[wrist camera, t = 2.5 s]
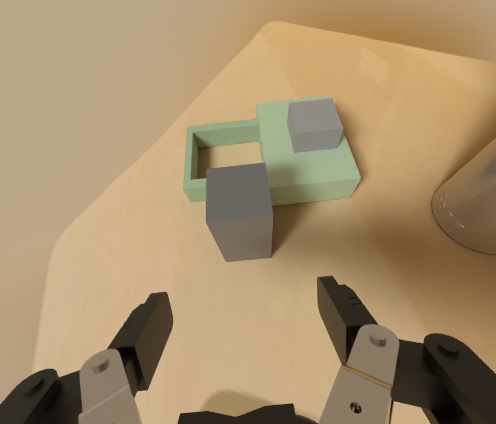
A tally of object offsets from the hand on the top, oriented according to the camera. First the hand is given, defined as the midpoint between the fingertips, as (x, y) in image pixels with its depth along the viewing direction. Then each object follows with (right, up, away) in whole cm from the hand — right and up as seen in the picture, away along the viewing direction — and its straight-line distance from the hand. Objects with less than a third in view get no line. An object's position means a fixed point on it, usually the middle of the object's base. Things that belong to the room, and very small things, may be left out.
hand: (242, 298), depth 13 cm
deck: (+2, +11, +20) cm, 23 cm away
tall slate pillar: (0, +1, +15) cm, 15 cm away
